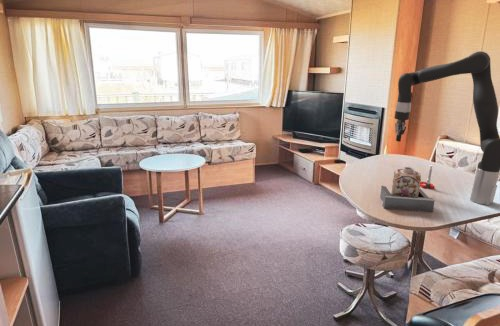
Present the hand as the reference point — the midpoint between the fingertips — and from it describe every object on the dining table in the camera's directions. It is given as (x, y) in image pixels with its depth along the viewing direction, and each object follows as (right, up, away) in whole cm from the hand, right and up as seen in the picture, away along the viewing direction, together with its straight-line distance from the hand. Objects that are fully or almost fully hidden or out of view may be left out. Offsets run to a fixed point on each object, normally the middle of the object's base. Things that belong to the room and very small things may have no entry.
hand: (398, 141), depth 188 cm
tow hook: (+17, -26, +4) cm, 31 cm away
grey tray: (-7, -33, -22) cm, 40 cm away
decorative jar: (-7, -32, -20) cm, 38 cm away
